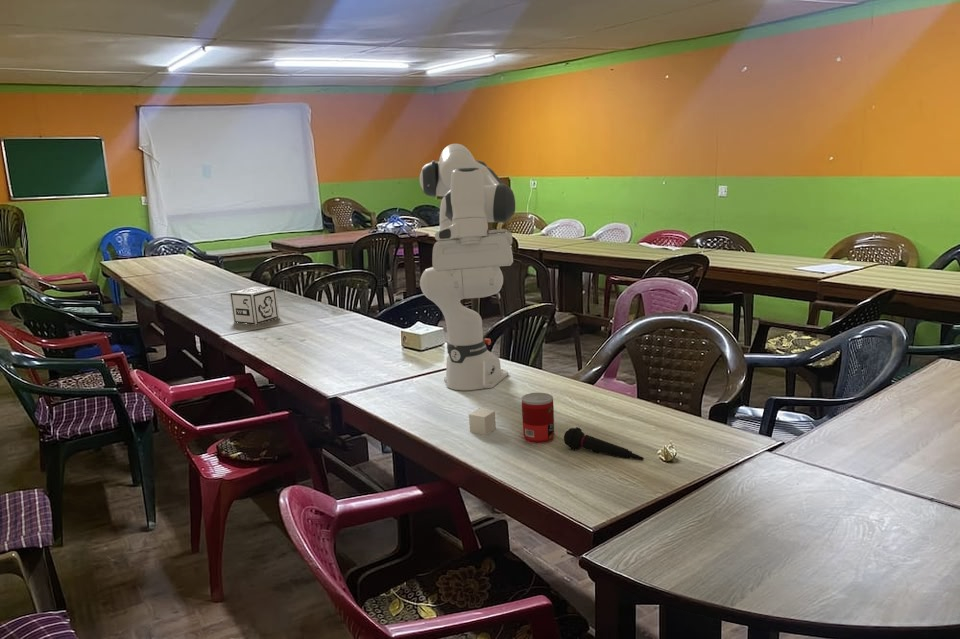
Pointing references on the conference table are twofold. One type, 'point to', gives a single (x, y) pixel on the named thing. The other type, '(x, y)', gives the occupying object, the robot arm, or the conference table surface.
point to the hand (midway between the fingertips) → (474, 286)
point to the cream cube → (482, 421)
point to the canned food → (538, 417)
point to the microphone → (595, 444)
